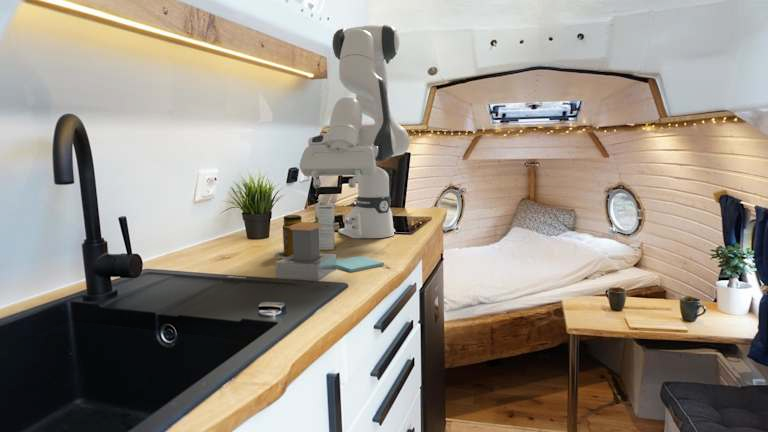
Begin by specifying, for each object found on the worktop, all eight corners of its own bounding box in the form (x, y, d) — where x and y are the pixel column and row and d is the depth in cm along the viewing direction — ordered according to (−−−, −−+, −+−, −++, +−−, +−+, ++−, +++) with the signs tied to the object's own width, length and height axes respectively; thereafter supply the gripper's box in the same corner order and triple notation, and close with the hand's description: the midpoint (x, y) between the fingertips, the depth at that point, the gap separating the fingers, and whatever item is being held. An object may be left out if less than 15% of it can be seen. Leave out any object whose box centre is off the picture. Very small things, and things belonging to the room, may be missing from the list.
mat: (328, 264, 142) (328, 261, 142) (360, 258, 149) (360, 255, 149) (350, 272, 134) (350, 269, 134) (383, 265, 141) (383, 262, 140)
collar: (297, 266, 141) (297, 252, 140) (336, 268, 137) (336, 254, 137) (276, 277, 130) (275, 262, 129) (318, 280, 127) (317, 264, 126)
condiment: (307, 256, 153) (305, 216, 151) (278, 259, 150) (276, 218, 148) (302, 251, 160) (301, 213, 158) (275, 254, 157) (273, 215, 155)
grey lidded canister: (302, 269, 137) (300, 222, 135) (322, 271, 136) (320, 222, 134) (292, 275, 132) (290, 225, 130) (312, 276, 130) (310, 226, 128)
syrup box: (317, 246, 167) (315, 202, 164) (335, 246, 167) (334, 202, 165) (315, 250, 161) (314, 204, 159) (334, 249, 161) (333, 204, 159)
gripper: (381, 151, 140) (375, 193, 132) (309, 153, 143) (300, 193, 136) (377, 136, 134) (371, 178, 127) (303, 138, 138) (293, 179, 131)
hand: (334, 186), depth 132 cm, fingers open, 8 cm apart
